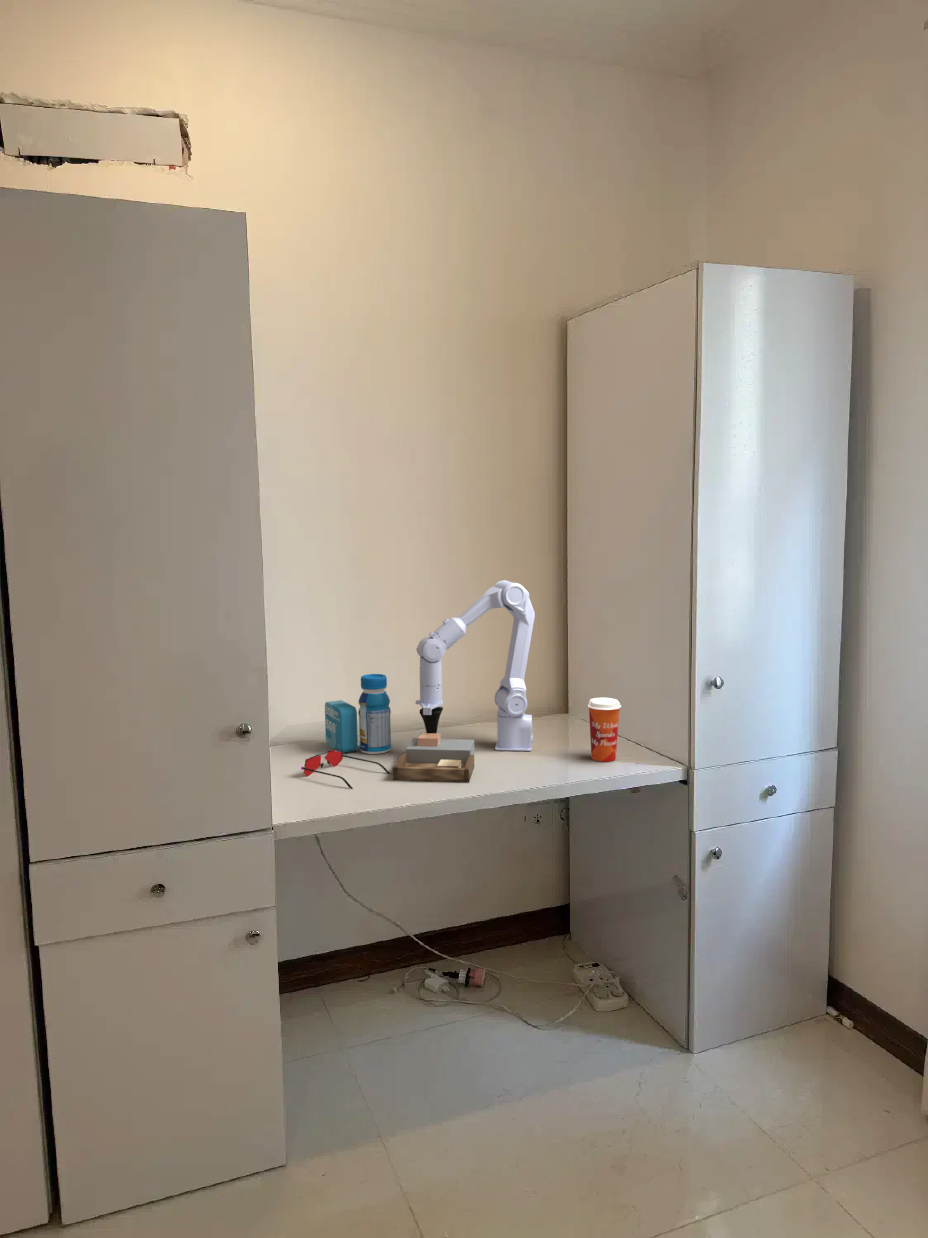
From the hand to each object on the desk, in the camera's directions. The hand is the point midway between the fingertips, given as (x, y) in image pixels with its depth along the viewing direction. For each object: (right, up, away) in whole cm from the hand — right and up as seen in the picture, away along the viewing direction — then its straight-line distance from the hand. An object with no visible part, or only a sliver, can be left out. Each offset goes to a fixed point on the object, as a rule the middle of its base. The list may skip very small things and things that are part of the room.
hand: (431, 736), depth 227 cm
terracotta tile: (0, -1, -4) cm, 4 cm away
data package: (-24, -4, +7) cm, 26 cm away
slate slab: (+2, -5, -5) cm, 7 cm away
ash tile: (+5, -4, -16) cm, 17 cm away
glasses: (-20, -8, -17) cm, 27 cm away
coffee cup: (+44, -5, -5) cm, 44 cm away
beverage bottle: (-15, -5, +4) cm, 16 cm away
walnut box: (+1, -7, -16) cm, 17 cm away
